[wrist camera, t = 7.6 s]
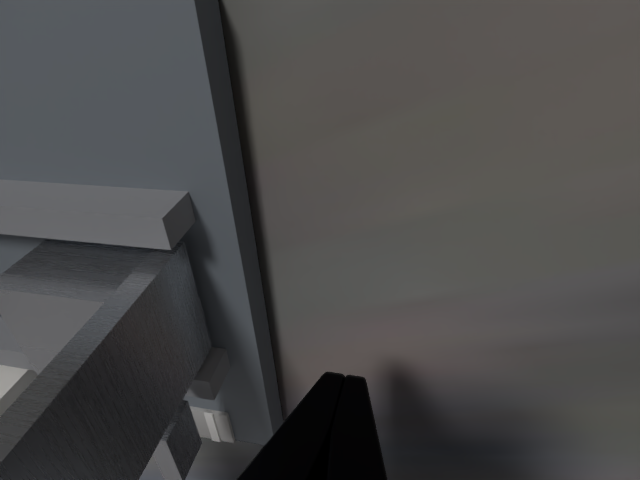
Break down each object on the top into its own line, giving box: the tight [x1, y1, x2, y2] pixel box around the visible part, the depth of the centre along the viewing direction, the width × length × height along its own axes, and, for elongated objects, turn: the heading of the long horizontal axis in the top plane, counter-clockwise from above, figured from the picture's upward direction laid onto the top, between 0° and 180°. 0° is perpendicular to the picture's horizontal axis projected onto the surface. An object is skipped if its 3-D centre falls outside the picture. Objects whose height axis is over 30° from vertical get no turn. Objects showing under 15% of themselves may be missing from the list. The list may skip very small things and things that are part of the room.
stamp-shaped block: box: [0, 365, 38, 417], centre depth 15 cm, size 1×4×3 cm, turn 3°
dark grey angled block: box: [0, 239, 212, 480], centre depth 10 cm, size 4×6×6 cm, turn 3°
